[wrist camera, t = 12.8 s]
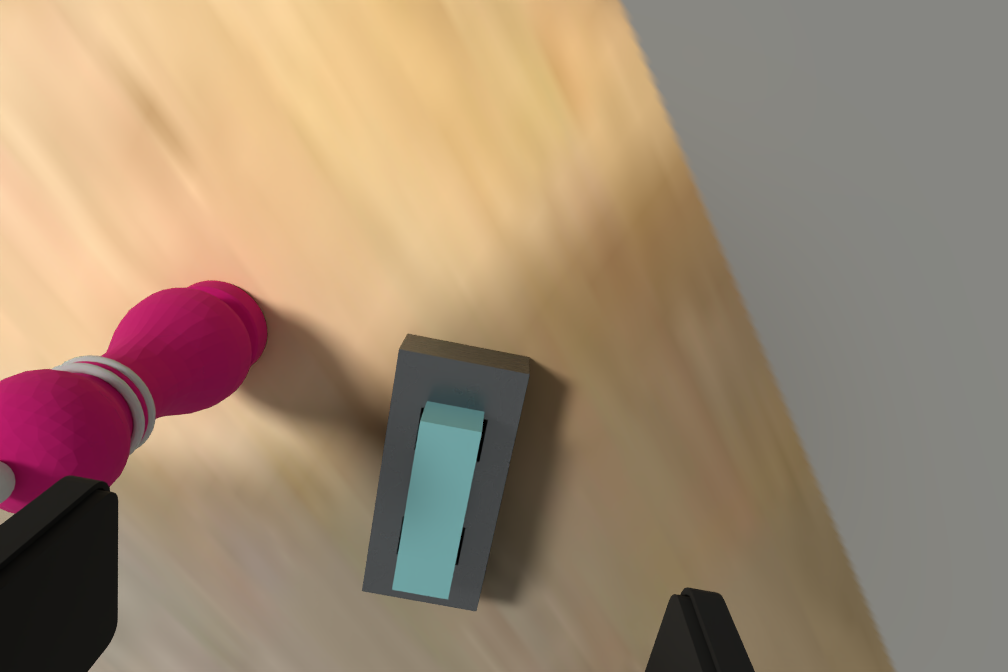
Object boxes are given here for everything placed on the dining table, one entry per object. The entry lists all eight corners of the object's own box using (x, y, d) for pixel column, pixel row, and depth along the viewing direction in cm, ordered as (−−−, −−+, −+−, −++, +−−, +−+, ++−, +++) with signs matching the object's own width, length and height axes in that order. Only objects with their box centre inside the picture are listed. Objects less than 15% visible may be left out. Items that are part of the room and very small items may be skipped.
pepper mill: (298, 333, 41) (110, 508, 22) (225, 399, 43) (-10, 615, 24) (214, 248, 40) (-66, 361, 21) (141, 320, 41) (-181, 486, 22)
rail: (407, 333, 41) (398, 349, 38) (529, 357, 41) (529, 374, 39) (371, 562, 47) (361, 590, 44) (479, 582, 47) (476, 611, 44)
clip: (432, 383, 42) (420, 420, 37) (486, 393, 42) (481, 432, 37) (407, 535, 46) (391, 589, 40) (456, 544, 46) (448, 599, 41)
